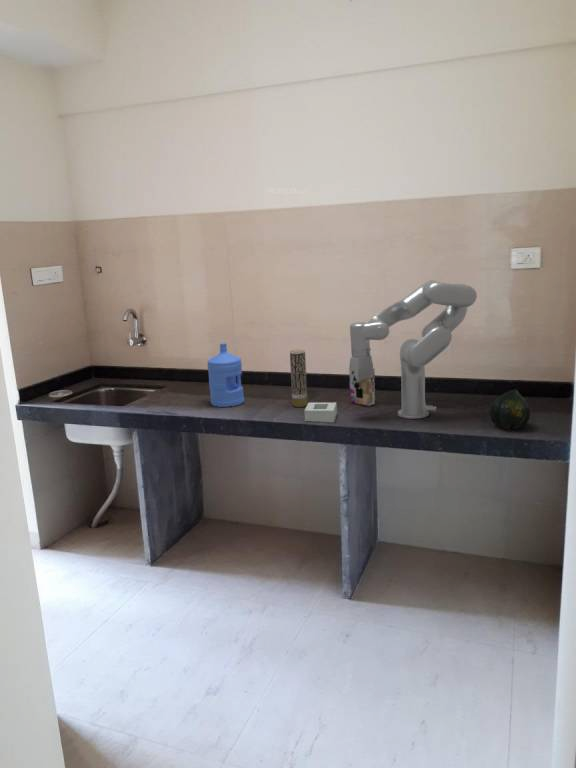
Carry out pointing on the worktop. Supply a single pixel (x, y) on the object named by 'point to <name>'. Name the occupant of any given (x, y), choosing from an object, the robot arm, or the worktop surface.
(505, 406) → the squash
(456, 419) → the worktop surface
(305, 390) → the paper tube
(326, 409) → the sage socket block
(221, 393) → the water jug
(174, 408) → the worktop surface
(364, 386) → the maple key peg
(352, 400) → the candy bar box
